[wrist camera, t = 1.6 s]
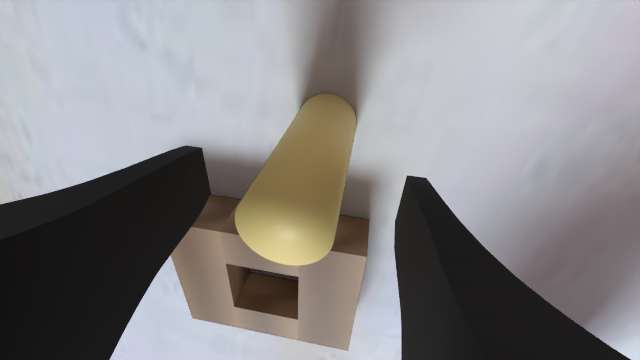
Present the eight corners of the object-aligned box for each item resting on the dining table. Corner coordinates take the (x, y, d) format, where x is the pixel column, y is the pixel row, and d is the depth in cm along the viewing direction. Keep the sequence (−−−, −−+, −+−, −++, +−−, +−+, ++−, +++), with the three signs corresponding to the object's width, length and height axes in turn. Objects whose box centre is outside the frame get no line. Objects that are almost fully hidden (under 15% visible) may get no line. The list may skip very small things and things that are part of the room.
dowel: (360, 96, 14) (338, 197, 8) (353, 151, 16) (330, 273, 9) (298, 90, 15) (228, 181, 8) (298, 144, 16) (240, 256, 10)
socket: (369, 219, 18) (366, 256, 16) (351, 312, 24) (347, 350, 22) (187, 191, 20) (159, 221, 17) (211, 285, 25) (192, 318, 23)
